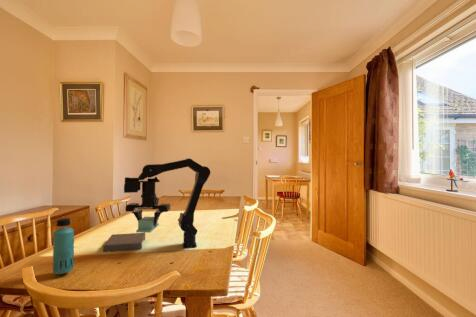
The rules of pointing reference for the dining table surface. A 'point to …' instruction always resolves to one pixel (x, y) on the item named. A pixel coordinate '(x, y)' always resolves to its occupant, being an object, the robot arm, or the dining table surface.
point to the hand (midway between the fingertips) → (148, 226)
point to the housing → (146, 224)
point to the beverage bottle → (63, 247)
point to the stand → (124, 242)
